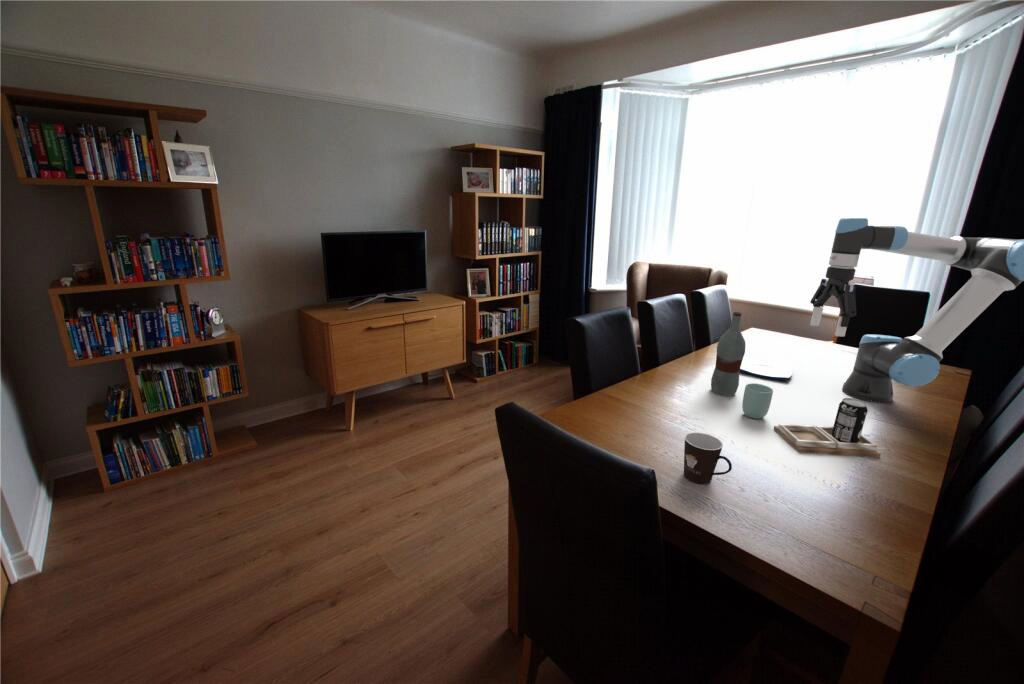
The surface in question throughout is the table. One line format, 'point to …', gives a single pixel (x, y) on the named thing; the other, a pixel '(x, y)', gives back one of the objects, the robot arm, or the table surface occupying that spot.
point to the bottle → (729, 359)
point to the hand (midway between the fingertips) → (826, 330)
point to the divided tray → (824, 441)
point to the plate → (766, 369)
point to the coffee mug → (702, 457)
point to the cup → (756, 400)
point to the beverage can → (849, 420)
